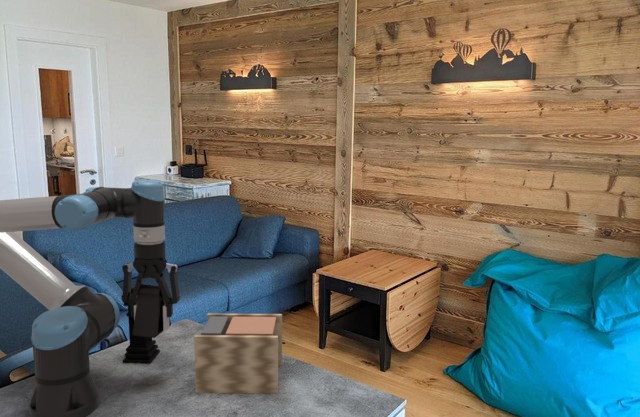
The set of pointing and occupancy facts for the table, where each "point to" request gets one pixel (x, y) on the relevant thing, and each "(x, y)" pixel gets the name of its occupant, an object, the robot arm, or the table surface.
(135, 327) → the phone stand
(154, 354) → the chess piece
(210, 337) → the frame
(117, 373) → the table surface
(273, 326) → the trapdoor
